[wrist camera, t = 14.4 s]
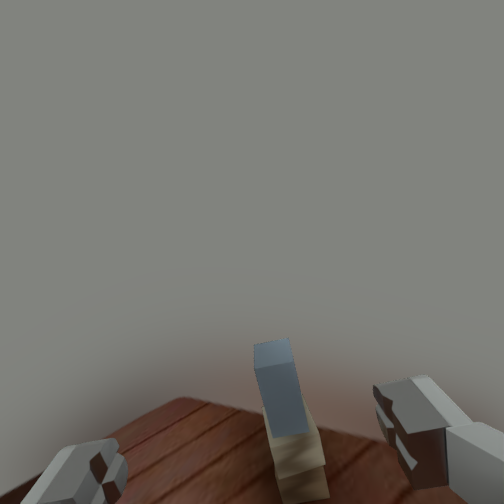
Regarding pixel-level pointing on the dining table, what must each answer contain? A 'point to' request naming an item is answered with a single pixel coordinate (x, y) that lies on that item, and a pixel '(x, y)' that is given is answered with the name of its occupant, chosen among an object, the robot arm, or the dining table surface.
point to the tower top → (296, 448)
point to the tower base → (303, 486)
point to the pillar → (280, 388)
